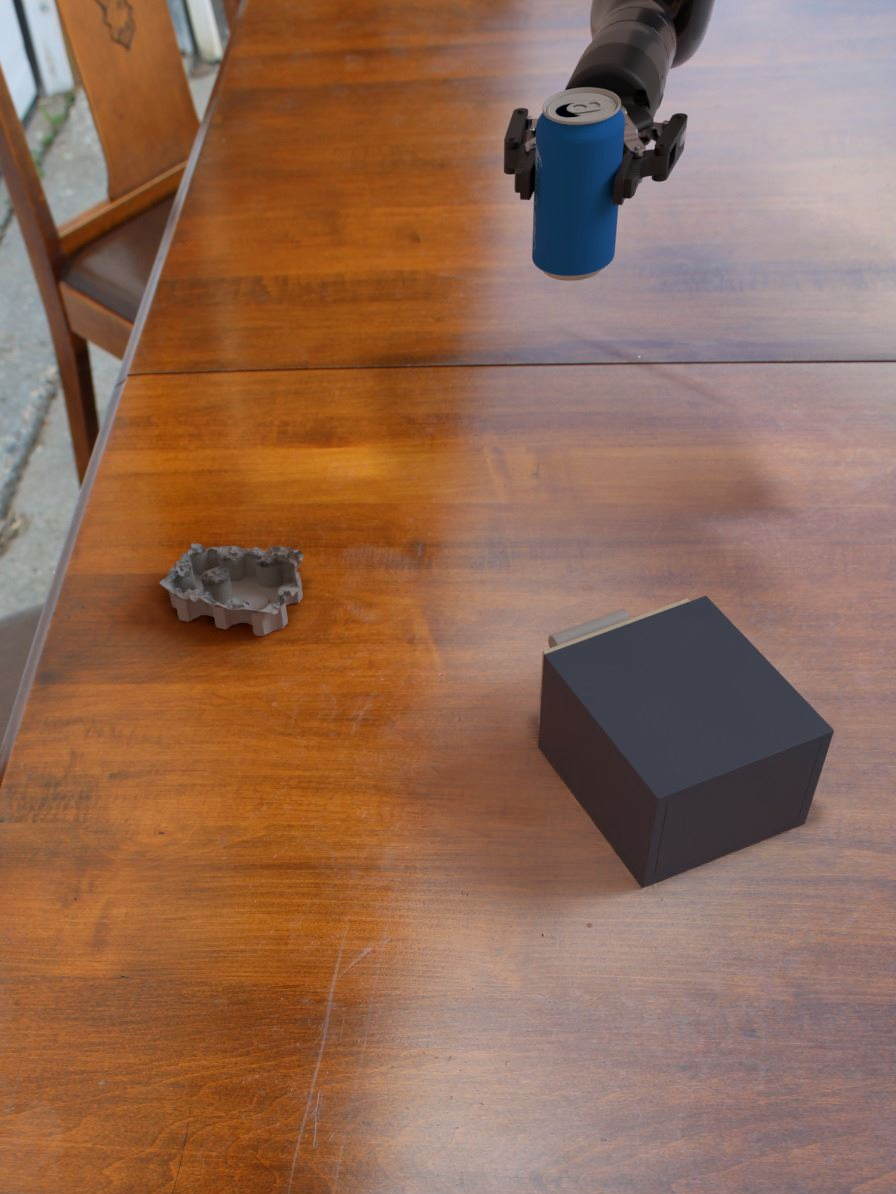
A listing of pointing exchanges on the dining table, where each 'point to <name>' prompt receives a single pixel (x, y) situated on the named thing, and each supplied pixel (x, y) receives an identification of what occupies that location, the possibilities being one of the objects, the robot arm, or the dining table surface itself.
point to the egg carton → (236, 585)
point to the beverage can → (576, 182)
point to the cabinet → (680, 739)
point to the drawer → (594, 631)
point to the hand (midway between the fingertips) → (571, 189)
